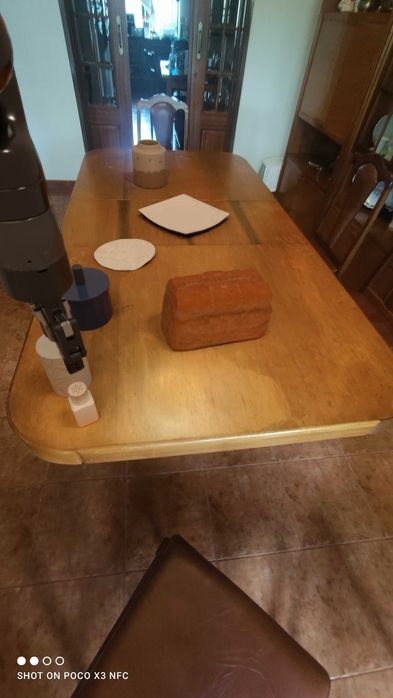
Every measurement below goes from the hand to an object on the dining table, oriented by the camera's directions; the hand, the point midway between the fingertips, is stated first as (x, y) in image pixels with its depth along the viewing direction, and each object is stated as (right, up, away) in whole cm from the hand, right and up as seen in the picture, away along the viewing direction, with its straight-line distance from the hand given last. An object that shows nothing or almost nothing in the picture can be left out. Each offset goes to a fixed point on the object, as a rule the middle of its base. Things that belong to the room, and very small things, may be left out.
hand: (64, 351), depth 46 cm
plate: (+14, +53, +82) cm, 98 cm away
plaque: (-5, +32, +60) cm, 68 cm away
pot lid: (-9, +16, +32) cm, 37 cm away
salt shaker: (-3, -13, +18) cm, 22 cm away
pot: (-10, +10, +38) cm, 41 cm away
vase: (-3, +80, +106) cm, 133 cm away
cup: (-8, -7, +23) cm, 25 cm away
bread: (+24, +6, +38) cm, 45 cm away
